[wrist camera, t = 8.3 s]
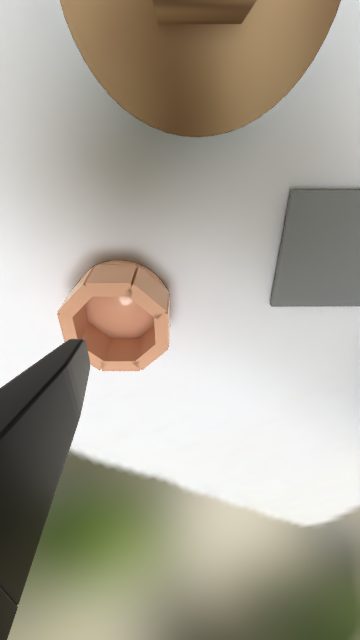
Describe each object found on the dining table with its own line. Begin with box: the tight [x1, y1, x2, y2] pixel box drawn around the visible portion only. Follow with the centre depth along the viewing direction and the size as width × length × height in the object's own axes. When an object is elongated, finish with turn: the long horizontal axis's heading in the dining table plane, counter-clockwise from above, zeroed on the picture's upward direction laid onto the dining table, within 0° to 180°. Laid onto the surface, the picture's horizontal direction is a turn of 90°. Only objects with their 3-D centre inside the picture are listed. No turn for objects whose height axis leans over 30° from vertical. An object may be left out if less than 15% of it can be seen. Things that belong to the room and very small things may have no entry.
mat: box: [270, 189, 360, 306], centre depth 21 cm, size 10×8×1 cm
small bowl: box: [57, 260, 170, 371], centre depth 22 cm, size 7×7×4 cm
